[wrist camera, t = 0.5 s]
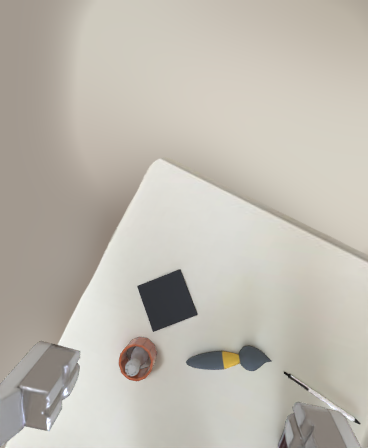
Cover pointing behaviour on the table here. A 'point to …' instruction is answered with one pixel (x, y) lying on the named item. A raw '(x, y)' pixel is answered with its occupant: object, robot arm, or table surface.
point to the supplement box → (283, 441)
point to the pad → (167, 300)
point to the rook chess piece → (136, 361)
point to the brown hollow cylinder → (148, 347)
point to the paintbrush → (230, 359)
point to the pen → (322, 398)
